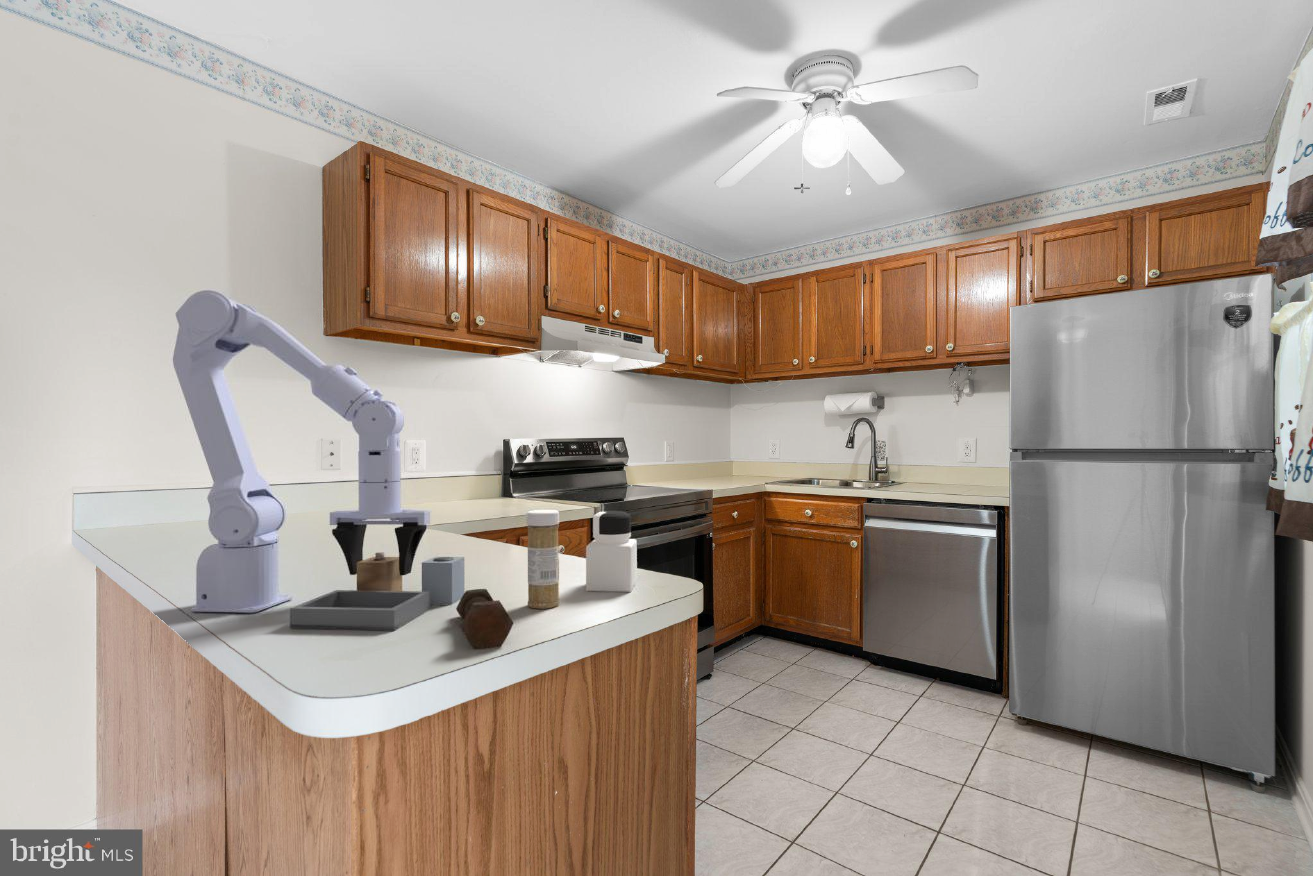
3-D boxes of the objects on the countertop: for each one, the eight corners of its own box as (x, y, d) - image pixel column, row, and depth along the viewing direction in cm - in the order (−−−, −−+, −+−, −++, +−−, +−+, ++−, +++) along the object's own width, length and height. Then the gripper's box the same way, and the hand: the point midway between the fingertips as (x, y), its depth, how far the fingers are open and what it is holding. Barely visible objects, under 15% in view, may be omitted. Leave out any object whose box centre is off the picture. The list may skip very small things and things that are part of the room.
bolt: (478, 628, 83) (495, 660, 69) (444, 613, 81) (454, 642, 68) (500, 588, 84) (520, 611, 71) (466, 572, 83) (481, 593, 69)
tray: (289, 628, 77) (289, 608, 77) (336, 607, 86) (336, 590, 86) (394, 630, 76) (394, 610, 76) (429, 609, 85) (429, 591, 85)
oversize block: (421, 604, 88) (421, 561, 88) (435, 596, 93) (435, 555, 93) (452, 604, 88) (451, 561, 88) (464, 597, 92) (464, 556, 92)
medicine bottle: (637, 582, 102) (636, 509, 102) (631, 592, 94) (630, 514, 95) (594, 581, 102) (594, 509, 102) (585, 591, 95) (585, 514, 95)
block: (356, 604, 89) (356, 555, 89) (373, 596, 93) (373, 550, 93) (386, 604, 88) (386, 555, 88) (402, 596, 93) (402, 550, 93)
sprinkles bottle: (558, 600, 90) (558, 508, 90) (560, 608, 85) (560, 511, 85) (526, 602, 89) (526, 509, 89) (526, 610, 84) (526, 512, 84)
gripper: (439, 479, 94) (439, 568, 94) (348, 480, 95) (349, 567, 95) (417, 482, 87) (418, 578, 87) (320, 483, 88) (321, 577, 88)
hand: (380, 573), depth 91 cm, fingers open, 7 cm apart
